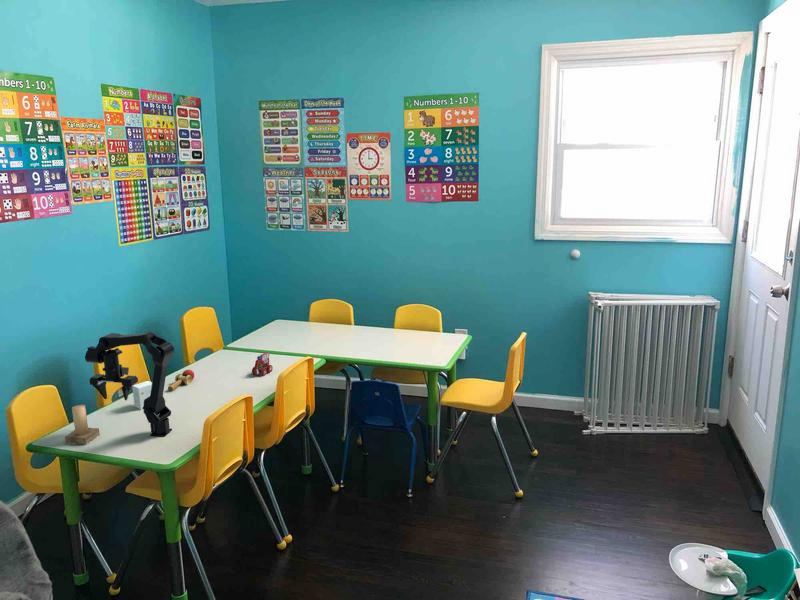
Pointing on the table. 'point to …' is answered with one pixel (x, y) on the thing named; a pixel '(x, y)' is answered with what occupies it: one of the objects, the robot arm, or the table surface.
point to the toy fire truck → (262, 365)
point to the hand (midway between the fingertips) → (116, 399)
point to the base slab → (82, 436)
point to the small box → (141, 393)
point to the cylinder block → (80, 419)
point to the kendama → (182, 379)
